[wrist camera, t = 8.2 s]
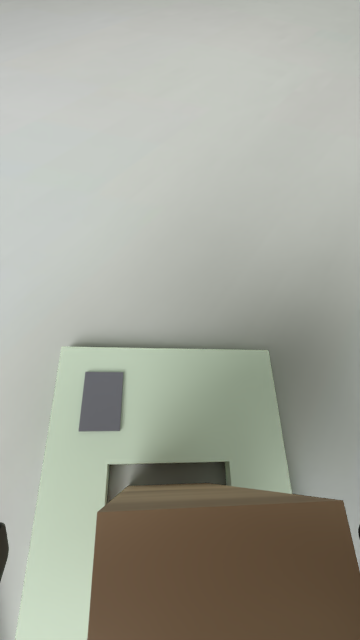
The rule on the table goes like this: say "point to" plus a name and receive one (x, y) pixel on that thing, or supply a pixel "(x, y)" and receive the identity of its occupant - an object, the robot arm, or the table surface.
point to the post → (223, 566)
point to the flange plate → (137, 454)
